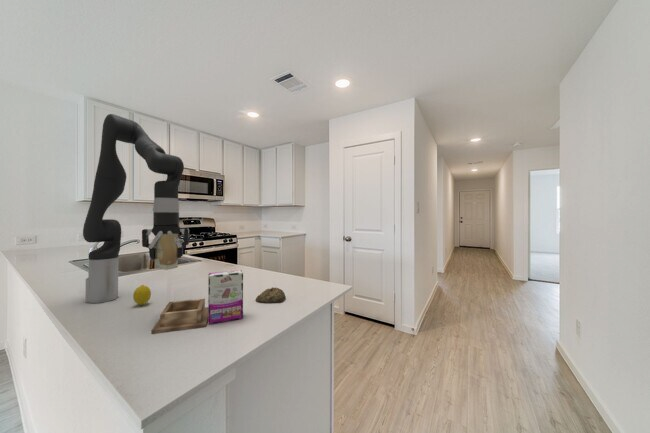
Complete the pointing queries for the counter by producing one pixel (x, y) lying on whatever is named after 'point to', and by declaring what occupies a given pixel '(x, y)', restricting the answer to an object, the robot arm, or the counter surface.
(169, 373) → the counter surface
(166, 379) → the counter surface
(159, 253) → the skincare box
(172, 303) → the walnut stand
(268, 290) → the bread roll
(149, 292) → the lemon
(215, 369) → the counter surface
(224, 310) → the candy bar box
